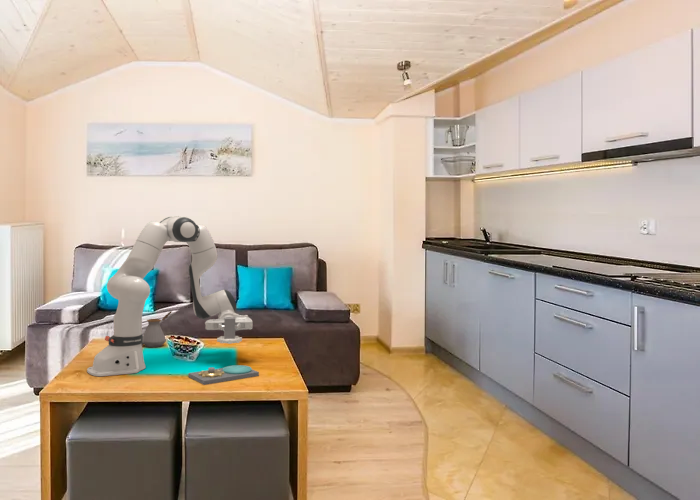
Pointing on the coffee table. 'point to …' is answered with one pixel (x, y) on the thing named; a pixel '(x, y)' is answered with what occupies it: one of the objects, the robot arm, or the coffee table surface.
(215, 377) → the gear board
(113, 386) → the coffee table surface
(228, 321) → the loose gear
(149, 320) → the coffee pot
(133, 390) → the coffee table surface
